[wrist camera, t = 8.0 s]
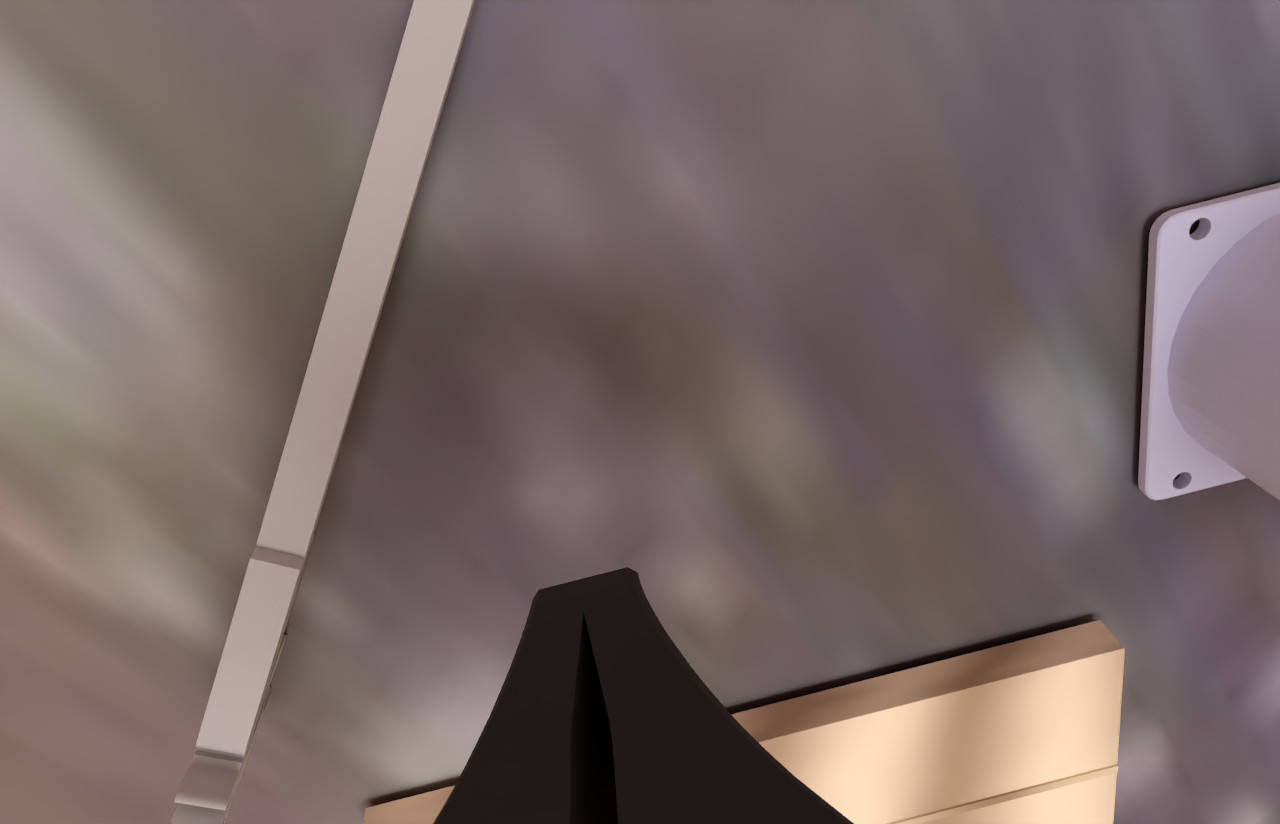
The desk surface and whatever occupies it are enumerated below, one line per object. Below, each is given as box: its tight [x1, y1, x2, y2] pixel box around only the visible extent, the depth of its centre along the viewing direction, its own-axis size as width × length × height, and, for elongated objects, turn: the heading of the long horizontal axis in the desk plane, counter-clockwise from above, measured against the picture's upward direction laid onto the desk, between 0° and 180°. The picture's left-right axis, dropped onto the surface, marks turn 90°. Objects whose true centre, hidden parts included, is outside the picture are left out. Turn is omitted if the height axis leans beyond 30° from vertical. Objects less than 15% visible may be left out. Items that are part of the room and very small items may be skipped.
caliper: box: [170, 0, 475, 824], centre depth 18 cm, size 20×1×6 cm, turn 159°
